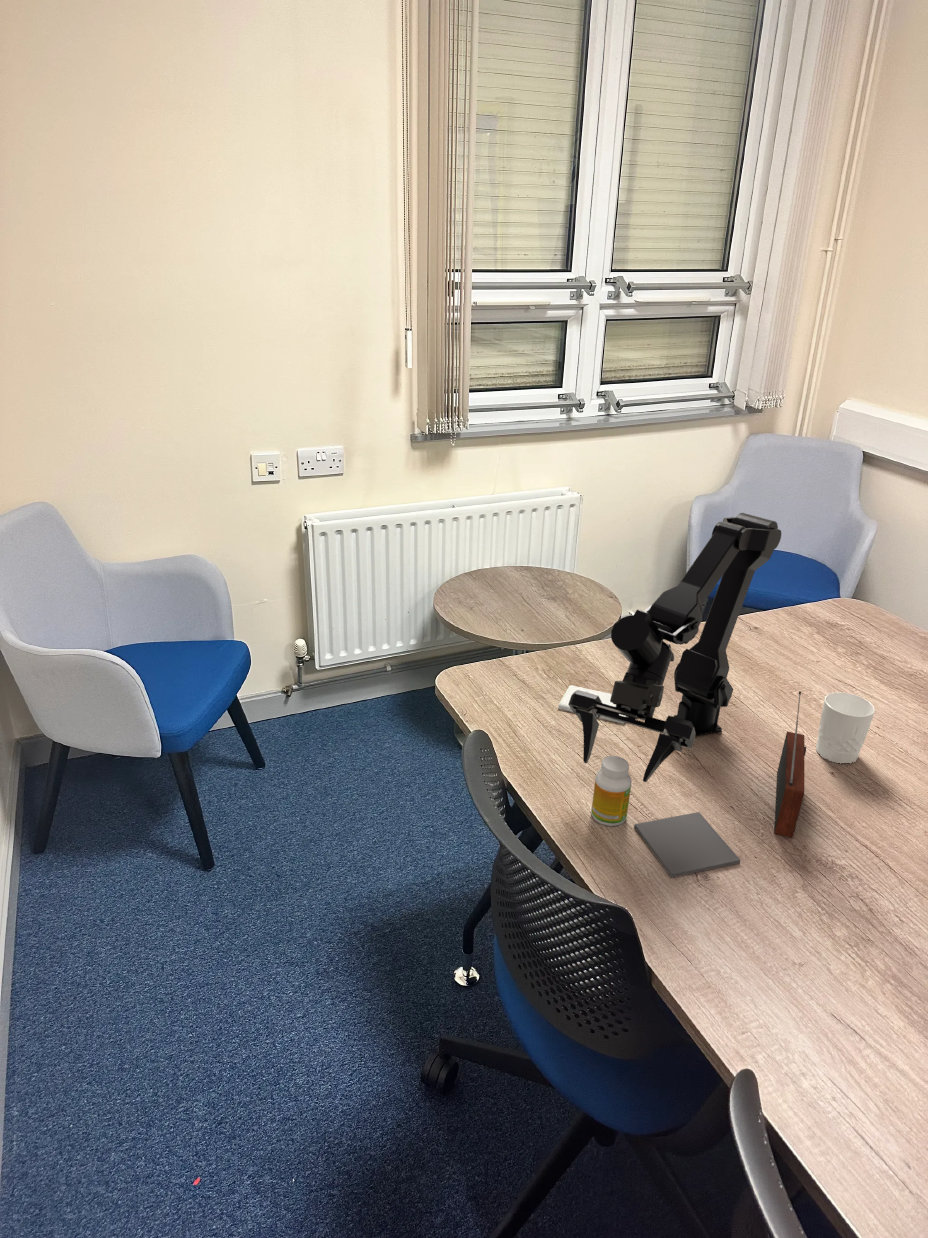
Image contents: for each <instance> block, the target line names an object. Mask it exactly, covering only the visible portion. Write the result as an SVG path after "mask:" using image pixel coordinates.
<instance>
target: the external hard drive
mask: <svg viewBox="0 0 928 1238" xmlns="http://www.w3.org/2000/svg"><path fill="white" fill-rule="evenodd" d="M577 690H580V691H584V692H587V693H591V694H594V695H598V696H599V698H600V700H601V701H602V703H603V704H607V705H610V706H614V707H615V706H616V704H613V703H612V702H610V699H611V695H612V693H609V692H603V691H599V690H594V689H590V688H585V687H580V686H576V685H571V684H570V685H569V686H568V688H567V690H566V691H565V693H564V695H563V696H562V698H561V700H560V702H559V703H558V709H559V710H561V711H567V712H571V713H574V712H573V711H572V709H571V708H570V706H569V705H568V704H569V701H570V698H571V695H572V694H573V693H574V692H575V691H577ZM619 715H620V716H623V715H621V714H619ZM624 717H628V716H624ZM598 719H601V720H605V721H610V722H614V723H618V724H622V725H625V724H626V723H625V722H621V721H618V720H614V719H611V718H608V717H604V716H601V715H600V717H599V718H598Z"/></svg>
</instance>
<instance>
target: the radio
mask: <svg viewBox="0 0 928 1238" xmlns="http://www.w3.org/2000/svg"><path fill="white" fill-rule="evenodd" d="M801 695H802V691H798V704H797V714H796V722H795V731H794V732H792V731H786V733H785V737H784V741H783V746H782V750H781V755H780V759H779V764H778V766H777V771H776V787H775V802H774V803H775V805H774V806H775V807H774V822H773V823H774V824H773V825H774V827H773V834H774V835H777V836H782V837H786V838H790V839H793V838H794V835H795V832H796V827H797V823H798V821H799V817H800V816H799V815H800V813H801V812H800V811H801V809H802V808H801V807H802V803H803V800H804V797H805V756H806V753H807V746H805V743H806V742H805V734H803V733H798V728H799V727H798V725H799V714H800V702H801Z"/></svg>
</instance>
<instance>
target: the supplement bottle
mask: <svg viewBox="0 0 928 1238" xmlns="http://www.w3.org/2000/svg"><path fill="white" fill-rule="evenodd" d="M629 768H630V764H629V762H628V760H627V759H625V758H624V757H621V756H619V755H608V756H605V757H604V758H603V759H602V761H601V766H600V769H599V770H598V771H597V772H596V774H595V778H594V785H593V793H592V795H593V796H592V802H591V809H590V813H591V816H592V818H593V819H594V820H595V821H596V823H599V824H601V825H603V826H610V827H615V826H620V825H622V824H623V823H625V822H626V820H627V817H628V809H629V803H630V797H631V790H632V789H631V788H632V781H633V780H632V777H631V775H630V774H629Z"/></svg>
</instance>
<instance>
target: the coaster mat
mask: <svg viewBox="0 0 928 1238" xmlns="http://www.w3.org/2000/svg"><path fill="white" fill-rule="evenodd" d="M633 825H634V827H633V828H634V829H635V830H636V832H637V833H638V835H639V837H640V838H641V839H642V840H643V841H644V843H645V844H646V845H647V846H648V848H649V849H650V851H651V853H652V854H653V855H654V856H655V858H656V859H657V860H658V862H659V863H660V864H661V866H662V867H663V868H664V870H665V871H666V873H667V874H668V875H669V877H670V878H676V877H677V878H678V877H681V876H686V875H690V874H696V873H700V872H704V871H708V870H714V869H718V868H722V867H723V868H724V867H728V866H729V867H730V866H733V865H737V864H740V863H741V859H740V857H739V856H738V855H737V854H736V853H735V852H734V851H733V849H732V848H731V847H730V846H729V845H728V844H727V842H726V841H725V840H724V839H723V838H722V836H720V834H719V833H718V832H717V831H716V830H715V829H714V828H713V826H712V825H711V824H710V823H709V822H708V820H707V819H706V818H705V817H704V816H703V815H702V813H701V812H700V811H698V812H691V813H686V814H681V815H677V816H676V815H675V816H671V817H664V818H660V819H655V820H649V821H644V822H638V823H635V824H633Z"/></svg>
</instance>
